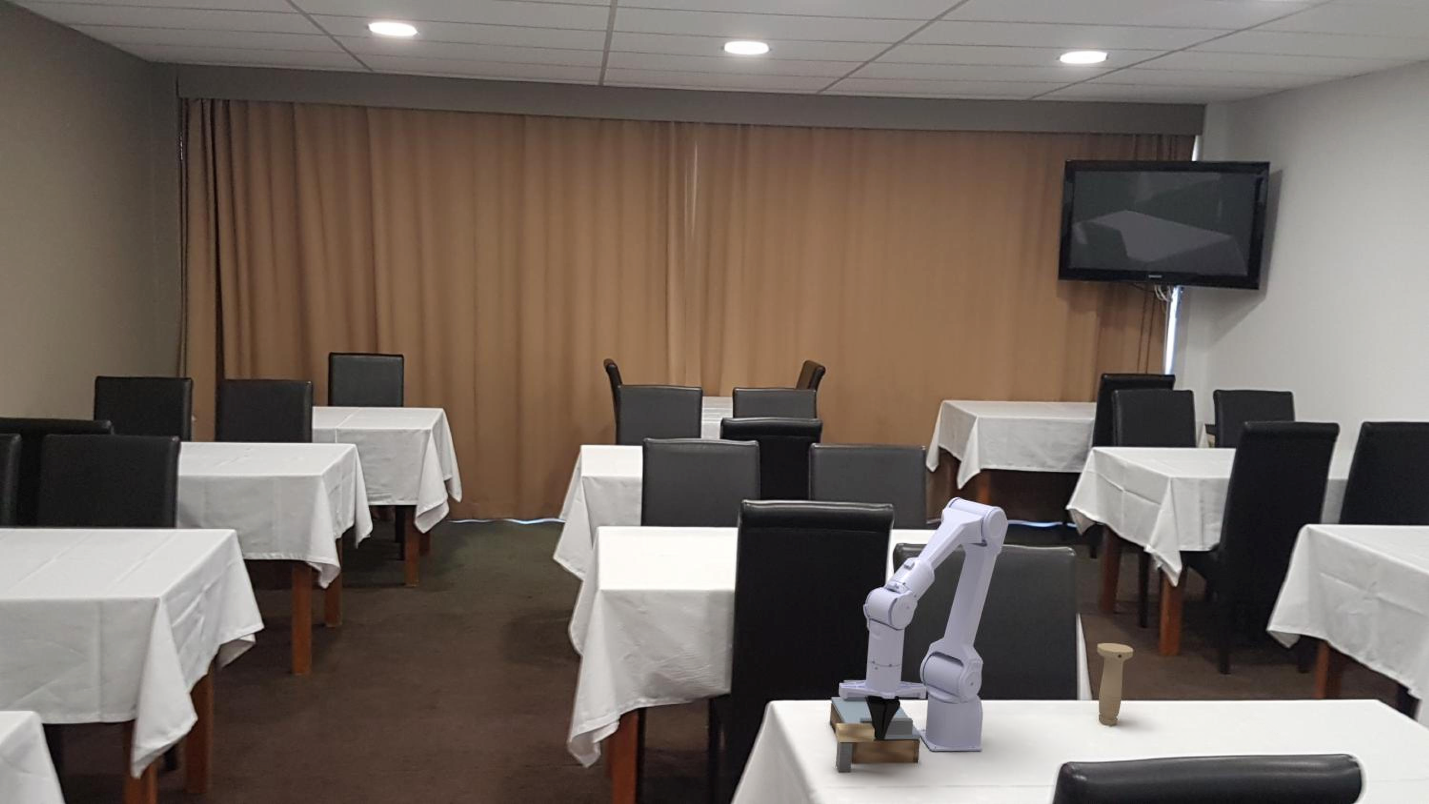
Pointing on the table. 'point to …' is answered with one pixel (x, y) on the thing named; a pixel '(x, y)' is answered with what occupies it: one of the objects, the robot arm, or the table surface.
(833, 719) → the brown wooden shallow box
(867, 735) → the tan wooden block
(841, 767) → the block
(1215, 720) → the table surface
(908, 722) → the lid
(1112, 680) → the handle
